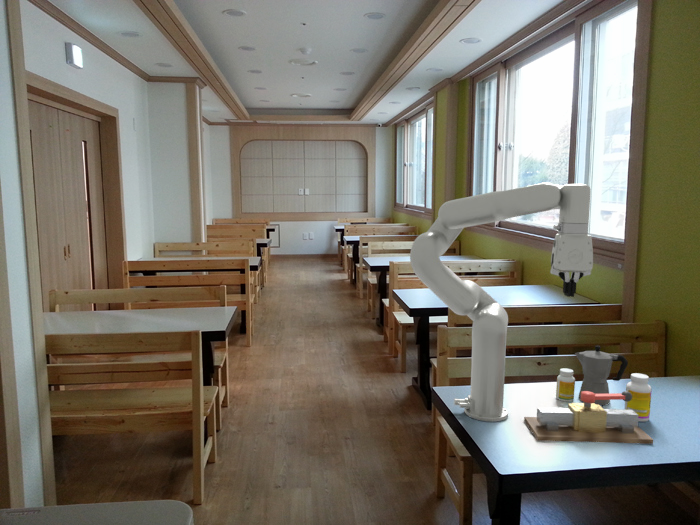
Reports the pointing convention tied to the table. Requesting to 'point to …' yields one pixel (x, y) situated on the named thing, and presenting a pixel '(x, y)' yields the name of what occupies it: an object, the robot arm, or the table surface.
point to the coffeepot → (598, 371)
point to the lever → (603, 397)
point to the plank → (586, 434)
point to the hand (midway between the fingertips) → (569, 295)
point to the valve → (587, 418)
